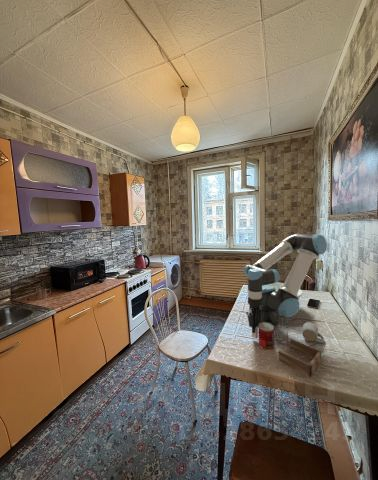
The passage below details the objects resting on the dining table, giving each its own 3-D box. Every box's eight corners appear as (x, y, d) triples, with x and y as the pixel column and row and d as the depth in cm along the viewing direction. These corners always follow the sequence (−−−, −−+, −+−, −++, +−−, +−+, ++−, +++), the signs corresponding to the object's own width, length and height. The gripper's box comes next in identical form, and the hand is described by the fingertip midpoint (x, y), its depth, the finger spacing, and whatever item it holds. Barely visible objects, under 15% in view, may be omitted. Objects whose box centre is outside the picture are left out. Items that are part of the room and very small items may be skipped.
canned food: (268, 351, 104) (268, 331, 103) (255, 344, 111) (255, 325, 109) (276, 345, 109) (277, 326, 108) (263, 339, 115) (263, 320, 114)
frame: (290, 347, 107) (290, 338, 106) (321, 360, 96) (321, 351, 96) (278, 360, 98) (278, 351, 97) (310, 377, 87) (311, 366, 87)
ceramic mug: (301, 340, 113) (302, 327, 112) (302, 332, 120) (303, 320, 119) (324, 346, 107) (325, 332, 106) (324, 338, 114) (324, 325, 113)
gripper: (255, 292, 119) (255, 330, 121) (242, 298, 110) (242, 339, 113) (267, 295, 113) (267, 335, 116) (254, 302, 105) (254, 345, 107)
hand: (254, 337), depth 114 cm, fingers closed
